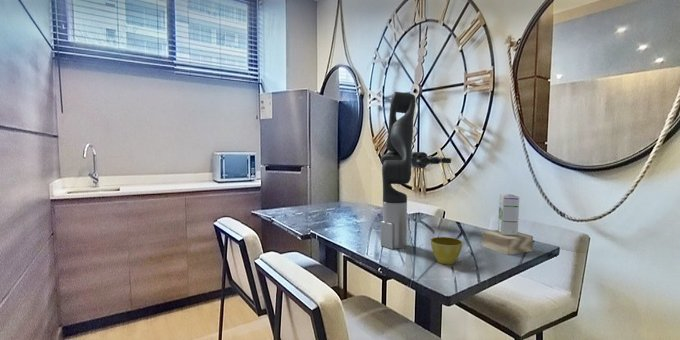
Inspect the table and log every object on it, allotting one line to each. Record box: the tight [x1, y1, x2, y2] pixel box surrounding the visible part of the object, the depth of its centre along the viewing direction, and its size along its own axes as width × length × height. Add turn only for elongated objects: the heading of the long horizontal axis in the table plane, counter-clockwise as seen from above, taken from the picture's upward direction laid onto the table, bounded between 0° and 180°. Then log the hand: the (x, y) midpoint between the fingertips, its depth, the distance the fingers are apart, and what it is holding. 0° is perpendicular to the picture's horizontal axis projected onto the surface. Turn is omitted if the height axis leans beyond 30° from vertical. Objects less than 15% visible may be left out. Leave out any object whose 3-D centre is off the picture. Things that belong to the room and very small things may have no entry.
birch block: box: [481, 229, 534, 256], centre depth 131 cm, size 12×12×6 cm
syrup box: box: [497, 193, 520, 236], centre depth 130 cm, size 6×6×14 cm
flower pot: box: [430, 236, 463, 265], centre depth 116 cm, size 10×10×7 cm
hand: (444, 161), depth 153 cm, fingers open, 8 cm apart
